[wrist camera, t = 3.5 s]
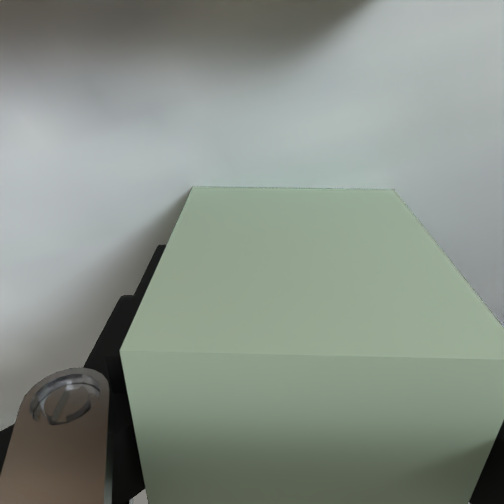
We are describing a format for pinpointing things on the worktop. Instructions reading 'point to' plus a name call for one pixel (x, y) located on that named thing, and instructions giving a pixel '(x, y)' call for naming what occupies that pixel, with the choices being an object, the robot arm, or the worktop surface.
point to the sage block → (310, 356)
